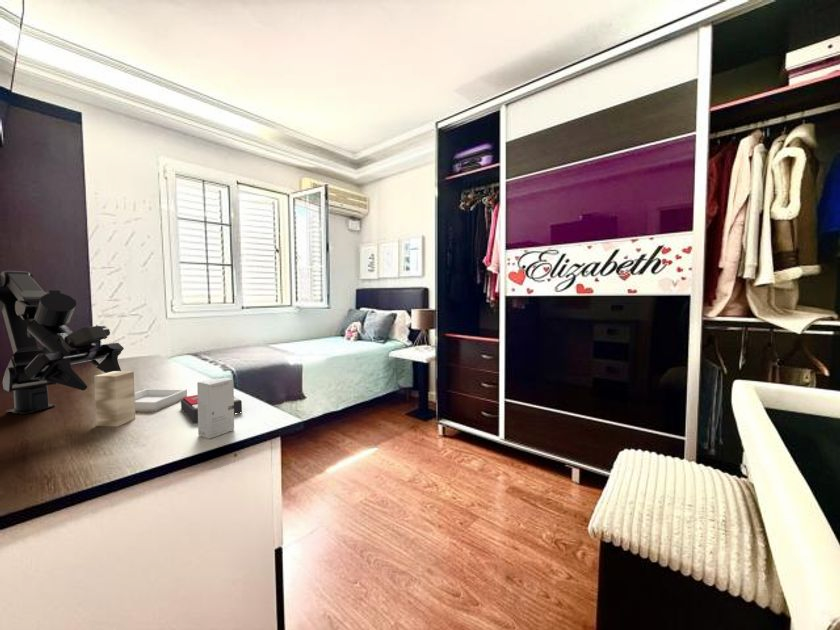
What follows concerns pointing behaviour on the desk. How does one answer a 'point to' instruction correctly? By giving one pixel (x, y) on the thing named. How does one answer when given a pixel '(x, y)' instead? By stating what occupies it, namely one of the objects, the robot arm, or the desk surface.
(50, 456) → the desk surface
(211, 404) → the skincare box
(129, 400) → the birch block
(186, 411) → the calculator
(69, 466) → the desk surface
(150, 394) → the white tray
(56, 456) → the desk surface
